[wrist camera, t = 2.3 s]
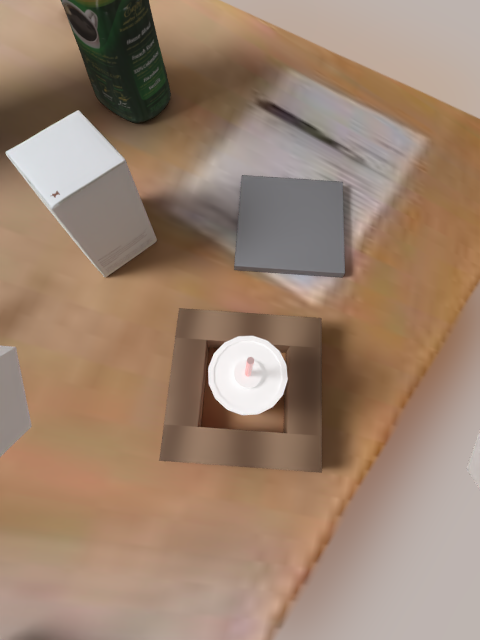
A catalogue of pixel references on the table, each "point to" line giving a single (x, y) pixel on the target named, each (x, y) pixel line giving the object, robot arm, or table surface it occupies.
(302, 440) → the walnut holder
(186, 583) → the table surface
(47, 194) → the supplement box
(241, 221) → the slate coaster
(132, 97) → the coffee jar
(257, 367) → the beverage cup
